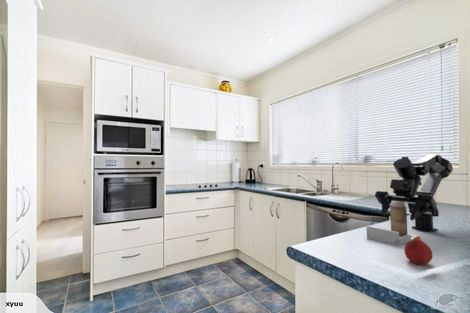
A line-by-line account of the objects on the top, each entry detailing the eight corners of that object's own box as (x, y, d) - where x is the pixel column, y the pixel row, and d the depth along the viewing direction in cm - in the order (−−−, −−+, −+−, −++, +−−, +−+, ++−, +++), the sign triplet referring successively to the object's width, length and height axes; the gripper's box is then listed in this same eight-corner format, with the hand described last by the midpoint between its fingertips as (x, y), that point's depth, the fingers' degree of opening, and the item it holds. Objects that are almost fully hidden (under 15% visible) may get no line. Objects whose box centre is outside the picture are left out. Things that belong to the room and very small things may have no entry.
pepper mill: (396, 232, 87) (395, 201, 88) (410, 235, 83) (409, 202, 83) (388, 233, 86) (386, 201, 86) (401, 237, 81) (400, 203, 81)
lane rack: (390, 232, 91) (390, 220, 91) (420, 239, 82) (420, 225, 82) (367, 239, 82) (366, 225, 82) (398, 248, 73) (397, 232, 74)
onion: (421, 272, 56) (420, 240, 57) (399, 263, 62) (398, 233, 62) (438, 269, 58) (437, 238, 58) (415, 260, 63) (414, 232, 64)
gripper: (376, 171, 95) (362, 200, 89) (431, 172, 79) (419, 207, 73) (386, 189, 99) (373, 217, 93) (441, 193, 83) (430, 228, 77)
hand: (396, 217), depth 84 cm, fingers open, 9 cm apart
